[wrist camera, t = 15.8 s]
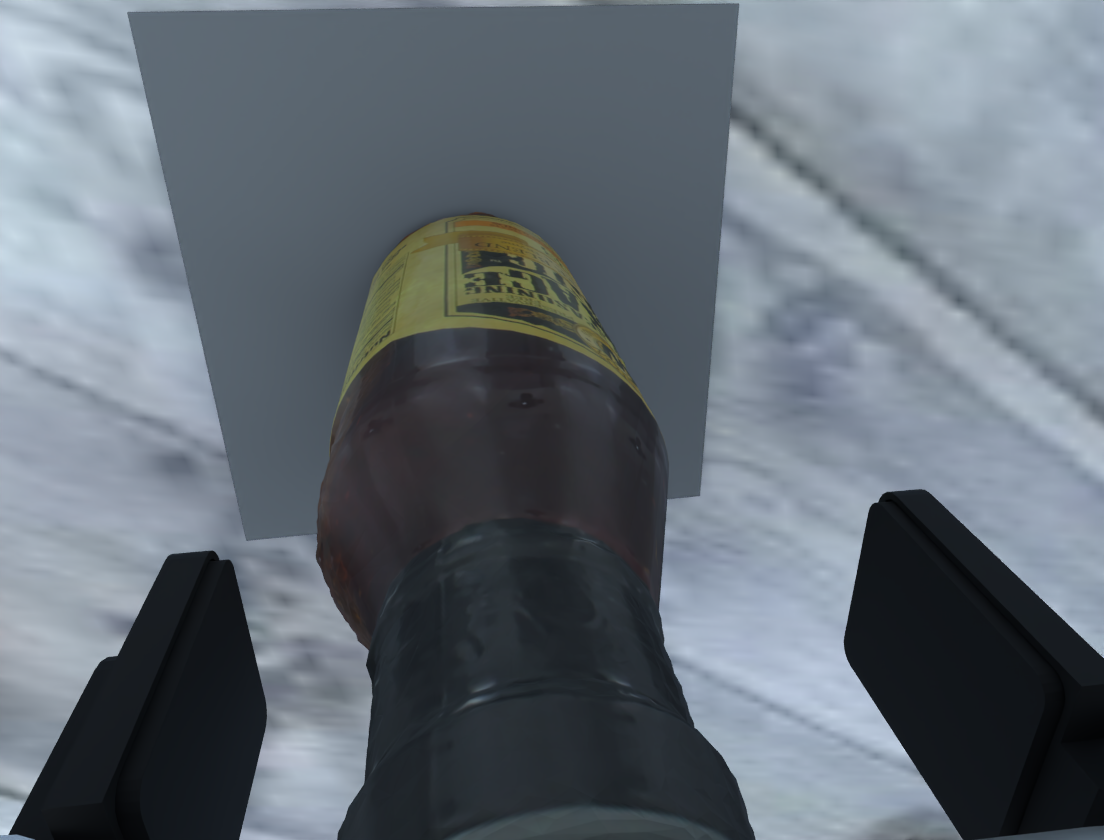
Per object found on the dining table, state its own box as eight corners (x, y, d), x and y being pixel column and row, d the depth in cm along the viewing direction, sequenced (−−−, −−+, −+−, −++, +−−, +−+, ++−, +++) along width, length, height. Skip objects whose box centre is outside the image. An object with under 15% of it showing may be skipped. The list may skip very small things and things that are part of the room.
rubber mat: (731, 3, 23) (738, 3, 22) (694, 487, 30) (699, 495, 29) (134, 12, 20) (127, 12, 20) (249, 530, 28) (246, 540, 27)
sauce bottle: (609, 308, 25) (1049, 949, 8) (465, 431, 27) (568, 1229, 9) (469, 146, 23) (668, 588, 5) (314, 292, 24) (40, 1062, 6)
